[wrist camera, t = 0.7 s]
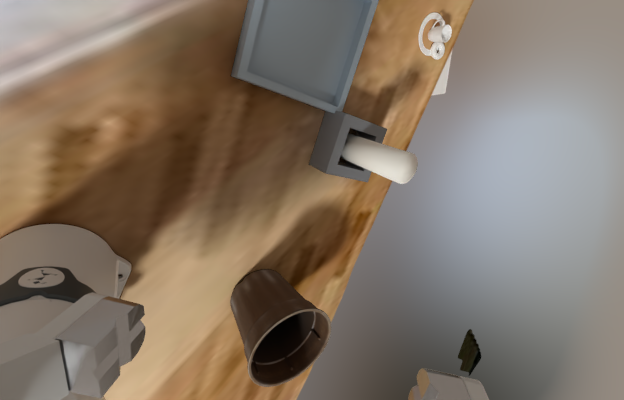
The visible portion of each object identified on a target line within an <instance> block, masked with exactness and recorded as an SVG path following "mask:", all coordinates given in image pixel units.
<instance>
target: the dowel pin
mask: <svg viewBox="0 0 624 400" xmlns="http://www.w3.org/2000/svg"><path fill="white" fill-rule="evenodd" d="M340 158H342V159H344V160H347V161H349V162H351V163H353V164H356V165H358V166H360V167H363V168H365V169H367V170H369V171H372V172H374V173H376V174H379V175H381V176H383V177H385V178H388V179H390V180H392V181H395V182H397V183H399V184H404V183H407V182H408V181H409V180H410V179H411V178H412V177H413V176H414V174H415V172H416V170H417V164H418V162H417V158H416V156H415V155H414V154H412V153H409V152H406V151H403V150H400V149H397V148H394V147H390V146H387V145H384V144H381V143H378V142H375V141H371V140H368V139H365V138H362V137H359V136H356V135H353V134H349V133H348V135H347V138H346V141H345V144H344V147H343V150H342V153H341V156H340Z"/></svg>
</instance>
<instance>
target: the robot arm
mask: <svg viewBox="0 0 624 400" xmlns="http://www.w3.org/2000/svg"><path fill="white" fill-rule="evenodd" d="M131 267H132V266H131V264H130V262H128V261H127V260H125V259H124V258H122V257H120V256H118V255H116V254H115V253H114V252H113V251H112V249H111V248H110V247H109V245H108V244H107V243H106V242H105V241H104V240H103V239H102V238H101V237H99V236H98V235H96V234H94V233H93V232H91V231H88V230H86V229H83V228H80V227H76V226H71V225H64V224H43V225H36V226H31V227H27V228H23V229H20V230H17V231H15V232H12V233H10V234H8V235H6V236H5V237H3V238H1V239H0V400H106V399H105V398H104V394H105V393H106V392H107V391H108V389H109V388H110V387H111V386H112V384H113V383H114V382H115V381H116V379H117V378H118V377H119V376H120V367H121V366H122V365H124V364H126V363H128V362H130V361H132V359H133V358H134V357H135V355H136V354H137V353H138V351H139V349H140V347H141V345H142V343H143V341H144V337H145V326H144V324H143V323H142V322H141V320H140V319H141V318H142V317H143V316H144V315H145V314H144V306H143V305H140V304H137V303H133V302H129V301H125V300H121V299H119V297H120V295H121V293H122V290H123V288H124V286H125V284H126V281H127V279H128V277H129V275H130V272H131ZM118 274H122V276H118ZM417 381H418V385H417V386H415V387H413V388H412V389H411V392H410V394H409V398H408V400H489V398H488V396H487V394H486V392H485V390H484V388H483V385H482V384H481V383H480V382H479V381H478V380H475V379H470V378H466V377H461V376H456V375H453V374H448V373H443V372H438V371H434V370H430V369H425V368H422V369H421V370H420V371H419V373H418V375H417Z"/></svg>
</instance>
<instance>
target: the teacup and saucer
mask: <svg viewBox="0 0 624 400" xmlns="http://www.w3.org/2000/svg"><path fill="white" fill-rule="evenodd" d="M431 19H436V20H438V21H436V22H435V23H434V25H433V27H432V28H431V30H430V31H429V32H428V39H429V40H430V41H432V42H434V43H433V44H432V46H431V49H430V50H427V49H426V48H425V47H424V45H423V41H422V34H423V30H424V27H425V25H426V24H427V22H428V21H429V20H431ZM437 22H439V23H440V26H437V27H434V26H435V24H436V23H437ZM451 33H452V29H451V26H450V25H445V21H444V20H443V18H442V16H441V15H440V14H439V13H436V12H433V13H430V14H429V15H428V16H427V17H426V18H425V19H424V21H423V22H422V24H421V27H420V31H419V46H420V49H421V51H422V52H423V54H425V55H427V56H432V58H434V59H440V58H441V57H442V56H443V54H444V51H445V47H444V44H443V42H447V41H448V40H449V39H450V37H451ZM438 50H439V52H438V53H437V51H438ZM451 55H452V51H451V53H450V56H449V58H448V60H447V62H446V64H445V66H444V68H443V71H442V73H441V75H440V77H439V79H438V82H437V84H436V86H435V88H434V91H433V93H432V95H439V94H445V93H446V87H447V81H448V74H449V68H450V62H451ZM432 95H431V96H432Z"/></svg>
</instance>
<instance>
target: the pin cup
mask: <svg viewBox="0 0 624 400" xmlns="http://www.w3.org/2000/svg"><path fill="white" fill-rule="evenodd" d="M349 129H353V130H356V131H357V132H356V136H359V137H362V138H365V139H368V140H371V141H375V142H378V143H381V144H382V142H383V139H384V136H385V134H386V131H387V129H386V128H383V127H380V126H378V125H375V124H373V123H370V122H368V121H365V120H362V119H360V118H357V117H355V116H352V115H349V114H347V113H343V112H339V111H335V113H331V112H327V111H325V114H324V117H323V121H322V124H321V127H320V130H319V133H318V137H317V140H316V143H315V146H314V149H313V152H312V156H311V159H310V162H309V165H311V166H313V167H315V168H317V169H318V170H320V171H322V172H324V173H326V174H331V175H336V176H340V177H345V178H350V179H355V180H359V181H364V182H368V180H369V177H370V174H371V172H372V171H369V170H367V169H365V168H363V167H360V166H358V165H356V164H353V163H351V162H349V161H346V163H344V162H340V161H339V159H340V156H341V153H342V150H343V147H344V144H345V141H346V138H347V135H348V132H349Z"/></svg>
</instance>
